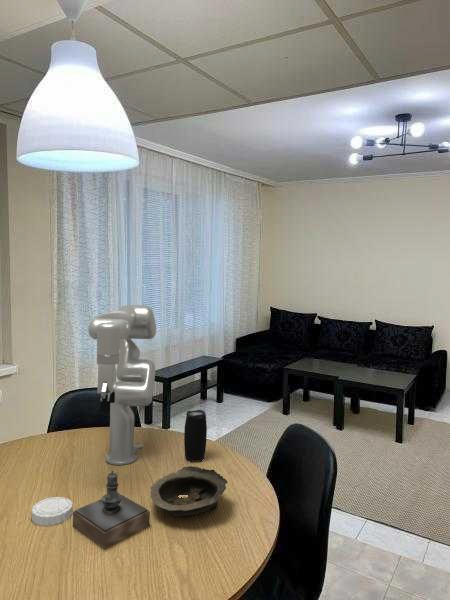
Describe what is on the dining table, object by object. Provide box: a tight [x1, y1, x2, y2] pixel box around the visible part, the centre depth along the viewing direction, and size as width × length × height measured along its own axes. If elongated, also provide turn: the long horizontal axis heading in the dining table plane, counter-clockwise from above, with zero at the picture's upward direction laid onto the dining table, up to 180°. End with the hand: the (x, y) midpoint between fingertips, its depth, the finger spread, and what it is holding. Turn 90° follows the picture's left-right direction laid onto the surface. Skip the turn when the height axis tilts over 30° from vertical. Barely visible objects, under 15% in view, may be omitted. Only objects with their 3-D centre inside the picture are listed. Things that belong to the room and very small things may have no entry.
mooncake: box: [30, 496, 74, 527], centre depth 138 cm, size 12×12×4 cm
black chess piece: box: [101, 469, 122, 514], centre depth 133 cm, size 6×6×12 cm
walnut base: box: [72, 491, 151, 550], centre depth 133 cm, size 16×16×5 cm
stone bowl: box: [149, 465, 228, 517], centre depth 145 cm, size 25×25×9 cm
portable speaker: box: [183, 409, 208, 463], centre depth 183 cm, size 9×9×20 cm
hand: (107, 407), depth 154 cm, fingers open, 9 cm apart
